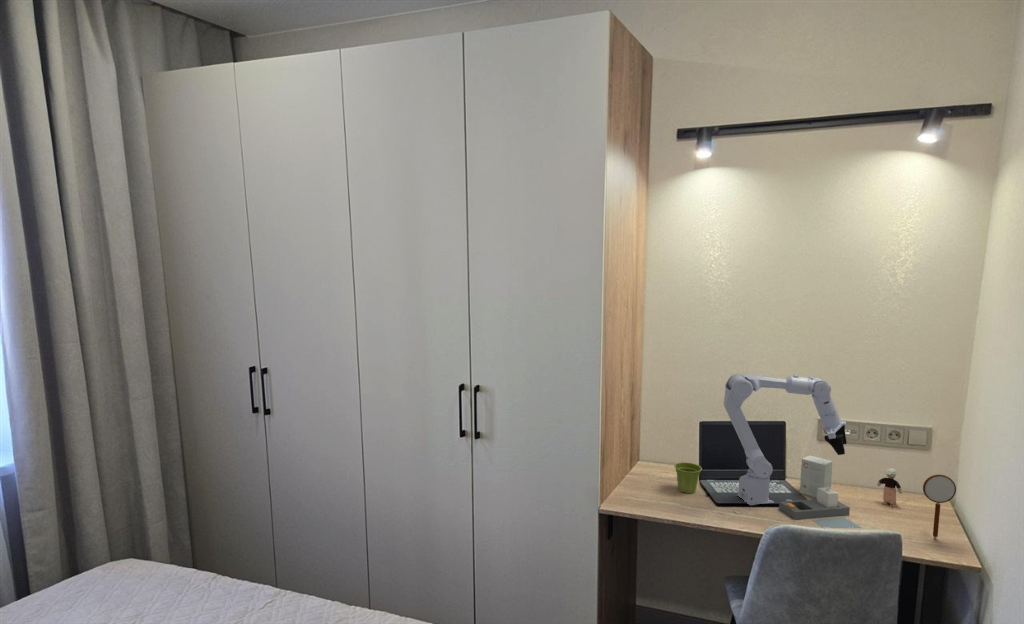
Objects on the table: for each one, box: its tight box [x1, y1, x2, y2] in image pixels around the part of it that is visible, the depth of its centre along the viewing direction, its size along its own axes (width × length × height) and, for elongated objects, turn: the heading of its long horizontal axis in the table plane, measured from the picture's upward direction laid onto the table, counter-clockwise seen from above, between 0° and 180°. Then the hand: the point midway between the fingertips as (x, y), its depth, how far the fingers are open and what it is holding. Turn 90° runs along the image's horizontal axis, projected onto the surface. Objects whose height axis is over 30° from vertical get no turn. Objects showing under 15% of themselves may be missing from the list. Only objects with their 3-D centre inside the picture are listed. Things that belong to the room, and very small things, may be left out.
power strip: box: [778, 498, 851, 521], centre depth 193 cm, size 20×8×4 cm, turn 102°
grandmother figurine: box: [876, 467, 903, 508], centre depth 201 cm, size 8×4×13 cm, turn 47°
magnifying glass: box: [922, 474, 957, 540], centre depth 176 cm, size 9×2×20 cm, turn 77°
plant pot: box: [674, 462, 703, 494], centre depth 211 cm, size 9×9×9 cm
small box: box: [799, 454, 833, 499], centre depth 208 cm, size 8×6×13 cm
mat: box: [811, 516, 863, 528], centre depth 184 cm, size 12×10×1 cm
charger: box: [816, 486, 839, 508], centre depth 194 cm, size 4×5×8 cm
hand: (842, 449), depth 198 cm, fingers open, 7 cm apart
